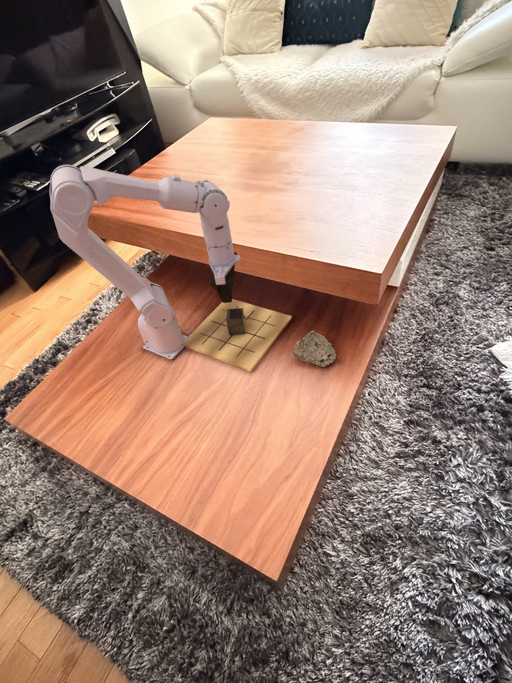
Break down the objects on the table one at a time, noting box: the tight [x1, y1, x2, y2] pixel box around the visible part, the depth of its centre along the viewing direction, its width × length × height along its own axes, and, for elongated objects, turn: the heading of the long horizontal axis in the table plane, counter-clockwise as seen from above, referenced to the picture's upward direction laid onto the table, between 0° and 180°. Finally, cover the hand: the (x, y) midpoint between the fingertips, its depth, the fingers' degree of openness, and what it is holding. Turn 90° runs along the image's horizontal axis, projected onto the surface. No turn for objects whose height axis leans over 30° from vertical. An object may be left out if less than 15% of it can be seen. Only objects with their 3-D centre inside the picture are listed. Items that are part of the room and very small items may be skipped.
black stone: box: [226, 308, 246, 335], centre depth 94 cm, size 4×4×5 cm
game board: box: [183, 298, 293, 373], centre depth 96 cm, size 20×20×1 cm
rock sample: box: [291, 330, 338, 368], centre depth 86 cm, size 10×8×9 cm
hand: (228, 292), depth 93 cm, fingers open, 7 cm apart
